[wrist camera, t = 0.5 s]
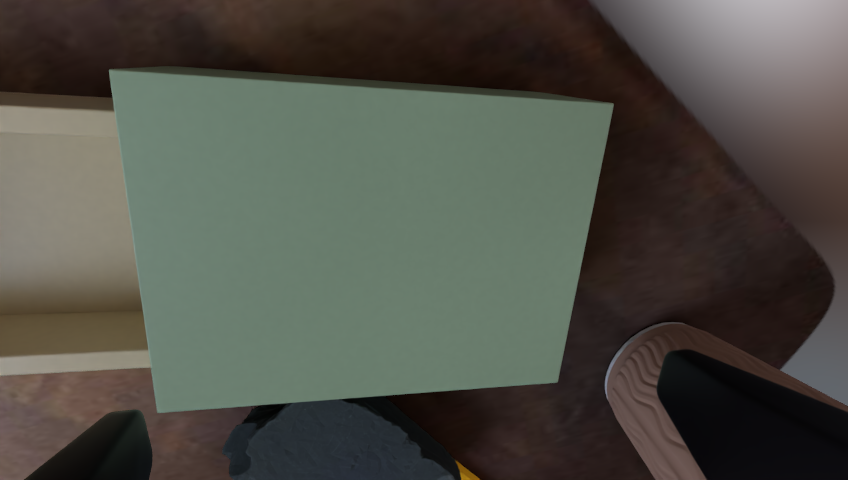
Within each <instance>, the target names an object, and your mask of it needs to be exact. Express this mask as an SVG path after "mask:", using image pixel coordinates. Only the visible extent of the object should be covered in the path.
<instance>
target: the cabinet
mask: <svg viewBox="0 0 848 480" xmlns="http://www.w3.org/2000/svg"><path fill="white" fill-rule="evenodd" d="M109 76H110V83H111V90H112V97H113V104H114V111H115V118H116V125H117V132H118V139H119V146H120V154H121V161H122V168H123V175H124V182H125V189H126V196H127V203H128V210H129V217H130V224H131V231H132V238H133V245H134V252H135V259H136V266H137V273H138V280H139V287H140V294H141V301H142V309H143V316H144V323H145V330H146V337H147V344H148V351H149V358H150V365H151V372H152V379H153V386H154V393H155V400H156V407H157V412H158V413H164V412H177V411H190V410H203V409H217V408H230V407H243V406H256V405H269V404H282V403H295V402H308V401H321V400H334V399H347V398H360V397H373V396H387V395H400V394H413V393H426V392H439V391H452V390H465V389H478V388H491V387H504V386H517V385H530V384H543V383H557V382H558V378H559V373H560V368H561V363H562V358H563V353H564V348H565V343H566V338H567V333H568V328H569V324H570V319H571V314H572V309H573V304H574V299H575V294H576V289H577V284H578V279H579V274H580V269H581V264H582V259H583V254H584V250H585V245H586V240H587V235H588V230H589V225H590V220H591V215H592V210H593V205H594V200H595V195H596V190H597V185H598V180H599V175H600V171H601V166H602V161H603V156H604V151H605V146H606V141H607V136H608V131H609V126H610V121H611V116H612V111H613V106H614V104H613V103H608V102H601V101H594V100H588V99H581V98H575V97H568V96H562V95H555V94H548V93H542V92H530V91H516V90H502V89H488V88H474V87H460V86H446V85H432V84H418V83H404V82H390V81H376V80H361V79H347V78H333V77H319V76H305V75H291V74H277V73H263V72H249V71H235V70H221V69H207V68H193V67H178V66H160V67H142V68H124V69H110V70H109Z"/></svg>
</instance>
